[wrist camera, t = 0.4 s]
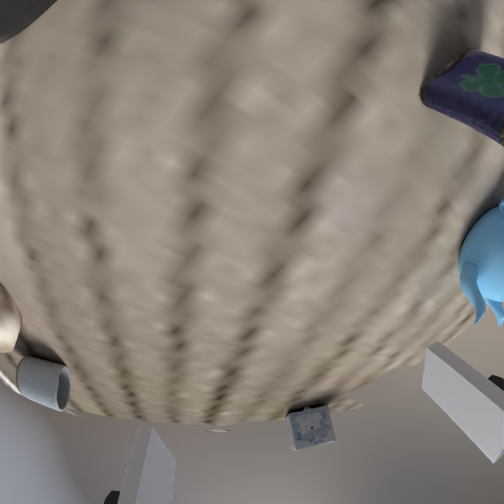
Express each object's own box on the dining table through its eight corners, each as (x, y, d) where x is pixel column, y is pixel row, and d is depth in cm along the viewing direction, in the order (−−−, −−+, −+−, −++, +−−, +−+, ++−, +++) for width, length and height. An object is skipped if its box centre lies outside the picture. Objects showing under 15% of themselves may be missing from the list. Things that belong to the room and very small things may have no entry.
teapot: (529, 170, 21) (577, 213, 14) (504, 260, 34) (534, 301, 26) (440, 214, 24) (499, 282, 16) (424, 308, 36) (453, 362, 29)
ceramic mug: (19, 345, 29) (8, 388, 24) (62, 357, 32) (54, 403, 26) (40, 374, 36) (33, 410, 30) (78, 383, 38) (73, 422, 32)
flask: (471, 43, 12) (572, 81, 4) (482, 70, 14) (575, 116, 6) (412, 88, 16) (526, 143, 8) (426, 116, 17) (527, 182, 9)
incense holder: (284, 418, 62) (292, 454, 54) (286, 409, 56) (295, 450, 48) (321, 409, 62) (331, 444, 54) (327, 400, 57) (338, 439, 49)
